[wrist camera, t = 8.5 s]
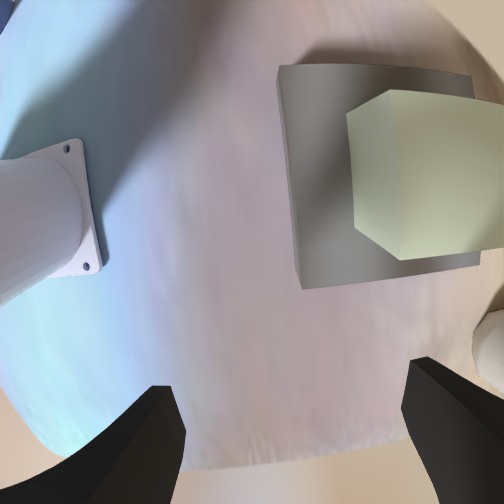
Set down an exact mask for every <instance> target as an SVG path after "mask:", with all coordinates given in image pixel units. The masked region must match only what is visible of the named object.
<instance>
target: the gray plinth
mask: <svg viewBox="0 0 504 504" xmlns="http://www.w3.org/2000/svg"><path fill="white" fill-rule="evenodd" d="M276 86H277V93H278V101H279V109H280V117H281V125H282V133H283V142H284V151H285V160H286V169H287V178H288V188H289V198H290V209H291V220H292V231H293V243H294V255H295V268H296V272H297V275H298V278H299V281H300V284H301V287H302V290H304V289H313V288H322V287H330V286H338V285H347V284H355V283H362V282H370V281H378V280H385V279H392V278H399V277H406V276H413V275H420V274H426V273H433V272H439V271H446V270H452V269H458V268H464V267H470V266H476V265H479V264H480V254H481V251H474V252H466V253H458V254H450V255H442V256H434V257H425V258H417V259H408V260H399V259H397V258H396V257H395V256H393V255H392V254H390V253H389V252H388V251H386V250H385V249H384V248H382V247H381V246H380V245H378V244H377V243H375V242H374V241H373V240H371V239H370V238H368V237H367V236H366V235H364V234H363V233H361V232H360V231H359V230H357V229H356V228H354V204H353V186H352V172H351V159H350V148H349V137H348V128H347V119H346V114H347V113H348V112H350V111H352V110H354V109H356V108H357V107H359V106H361V105H363V104H364V103H366V102H368V101H370V100H372V99H373V98H375V97H377V96H379V95H381V94H383V93H384V92H386V91H388V90H390V89H392V90H406V91H417V92H427V93H436V94H444V95H451V96H458V97H464V98H470V99H475V97H474V91H473V86H472V81H471V76H466V75H460V74H454V73H448V72H442V71H435V70H428V69H420V68H411V67H400V66H388V65H371V64H298V65H281V66H279V70H278V75H277V80H276Z"/></svg>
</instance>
